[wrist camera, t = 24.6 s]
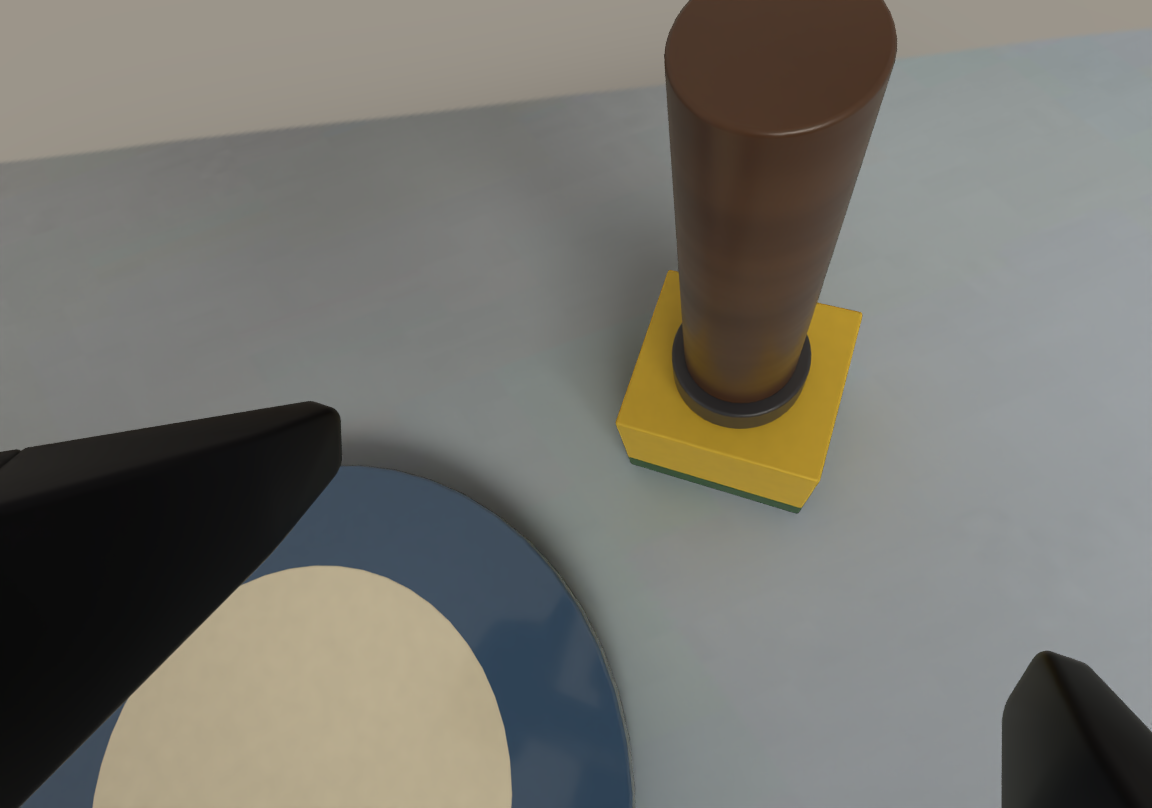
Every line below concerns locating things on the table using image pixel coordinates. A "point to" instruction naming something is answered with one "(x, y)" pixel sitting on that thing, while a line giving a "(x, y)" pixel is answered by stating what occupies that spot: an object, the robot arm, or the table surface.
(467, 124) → the table surface
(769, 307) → the sponge wand
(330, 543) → the plate
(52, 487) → the robot arm
